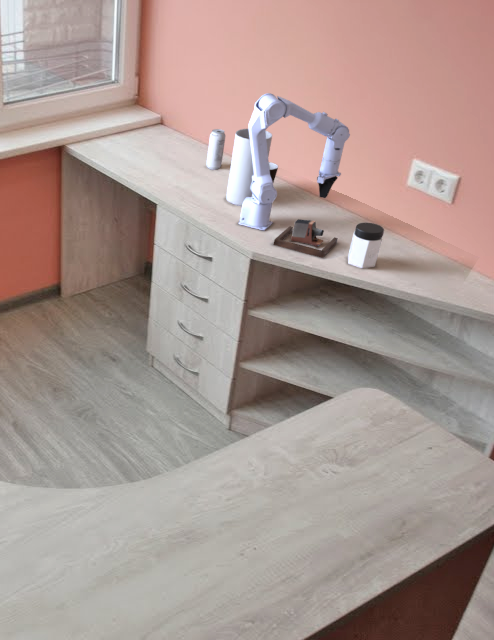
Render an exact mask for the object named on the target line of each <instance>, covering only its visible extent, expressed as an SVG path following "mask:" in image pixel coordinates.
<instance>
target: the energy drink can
mask: <svg viewBox="0 0 494 640" xmlns="http://www.w3.org/2000/svg"><path fill="white" fill-rule="evenodd" d="M225 132H226V131H225V130H224V129H220V128H214V129H212V131H211V132H210V134H209V140H208V141H209V142H208V147H207V155H206V162H205V166H206V168H207V169H208V170H212V171H214V170H215V171H216V170H220V168H221V167H222V163H223V156H224V149H225V142H226V133H225Z"/></svg>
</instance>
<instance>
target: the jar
mask: <svg viewBox="0 0 494 640" xmlns="http://www.w3.org/2000/svg"><path fill="white" fill-rule="evenodd" d="M384 233H385V228H384V227H383V226H382V225H380V224H378V223H374V222H359V223H357V224H356V225H355V229H354V231H353V234H352V239H351V242H350V246H349V250H348V254H347V263H348V265H350V266H354V267H356V268H360V269H368V268H369V269H370V268H375V267H376V264H377V260H378V257H379V253H380V249H381V246H382V243H383V236H384Z"/></svg>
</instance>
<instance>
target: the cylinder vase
mask: <svg viewBox="0 0 494 640" xmlns="http://www.w3.org/2000/svg"><path fill="white" fill-rule="evenodd" d="M265 132H266V141H267V151H268V158H269V156H270V151H271V145H272V139H273V133H272V132H270V131H268V130H265ZM234 134H235V136H234V142H233V149H232V155H231V162H230V167H229V168H230V169H229V175H228V181H227V188H226V195H225V199H226V201H227V202H228V203H230V204H231V205H234V206H239V207H242V205H243V202H244V200H245V199H246V198H247V197H252V194H253V193H252V191H251V189H250V186H251V183H252V176H253V175H254V171H253V162H252V154H251V145H250V137H249V128H241V129H238V130H236V132H235V133H234Z"/></svg>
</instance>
